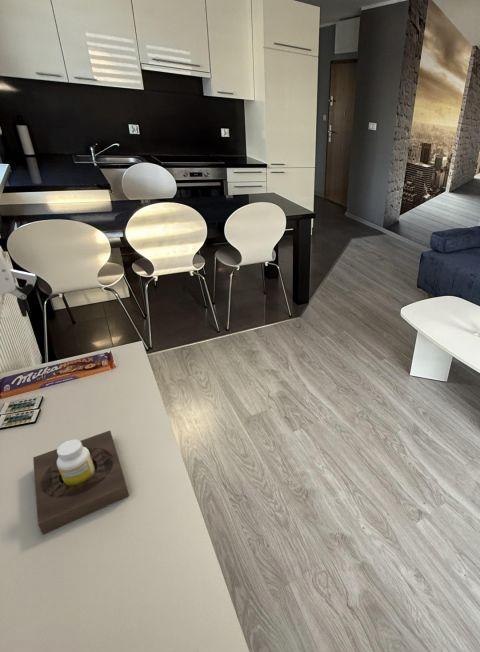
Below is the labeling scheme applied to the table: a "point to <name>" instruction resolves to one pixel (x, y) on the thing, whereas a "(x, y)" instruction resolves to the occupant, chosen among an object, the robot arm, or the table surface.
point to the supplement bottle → (74, 462)
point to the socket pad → (78, 485)
